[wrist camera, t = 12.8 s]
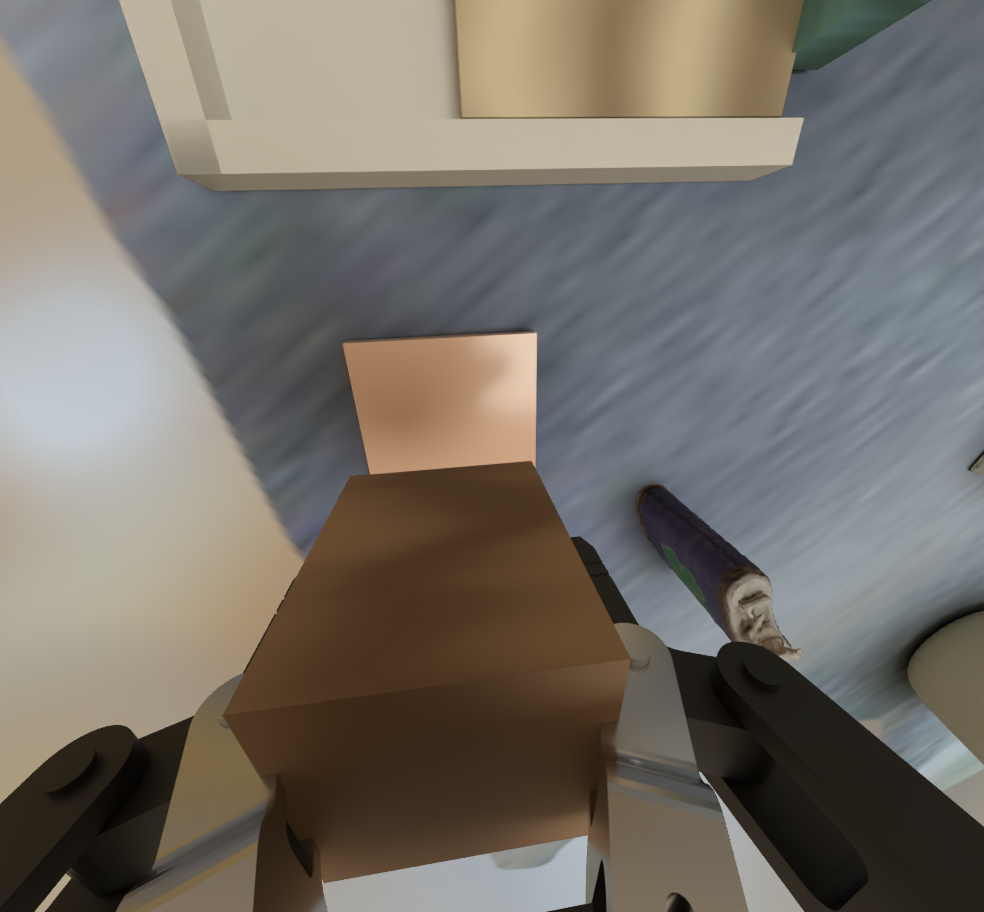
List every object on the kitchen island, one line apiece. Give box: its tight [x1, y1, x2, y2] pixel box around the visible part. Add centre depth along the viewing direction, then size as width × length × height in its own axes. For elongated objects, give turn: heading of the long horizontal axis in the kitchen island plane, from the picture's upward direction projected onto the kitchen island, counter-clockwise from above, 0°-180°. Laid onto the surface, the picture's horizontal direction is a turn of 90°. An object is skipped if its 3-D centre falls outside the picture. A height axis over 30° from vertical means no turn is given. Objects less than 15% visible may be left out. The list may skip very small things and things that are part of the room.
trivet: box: [343, 331, 537, 474], centre depth 21 cm, size 10×10×1 cm
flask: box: [636, 483, 803, 662], centre depth 22 cm, size 9×3×11 cm, turn 32°
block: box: [222, 461, 631, 883], centre depth 8 cm, size 5×5×6 cm
